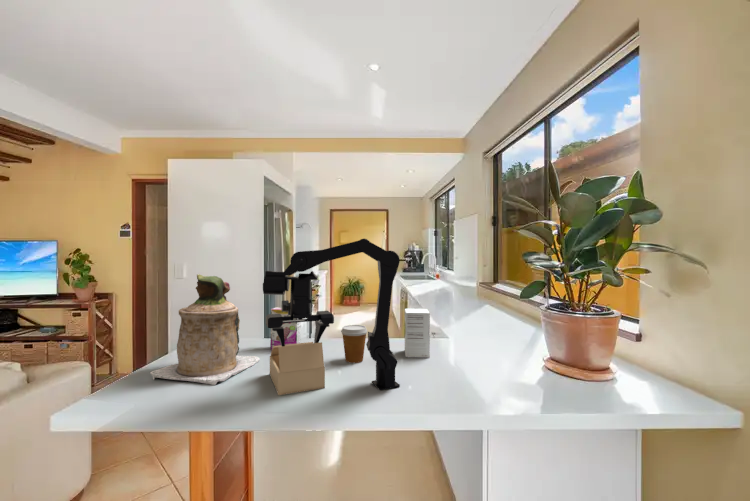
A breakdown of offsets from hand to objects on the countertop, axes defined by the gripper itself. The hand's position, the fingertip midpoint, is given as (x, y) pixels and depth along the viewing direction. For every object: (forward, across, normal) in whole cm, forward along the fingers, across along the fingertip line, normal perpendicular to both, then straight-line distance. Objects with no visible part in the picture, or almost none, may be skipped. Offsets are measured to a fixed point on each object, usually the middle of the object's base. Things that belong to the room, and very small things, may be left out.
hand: (299, 348), depth 102 cm
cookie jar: (+13, +24, -27) cm, 39 cm away
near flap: (+2, 0, +2) cm, 3 cm away
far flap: (+4, 0, -11) cm, 12 cm away
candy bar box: (+14, -3, -43) cm, 45 cm away
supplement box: (+12, -48, -15) cm, 52 cm away
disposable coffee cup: (+12, -23, -17) cm, 31 cm away
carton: (+12, 0, -5) cm, 13 cm away
